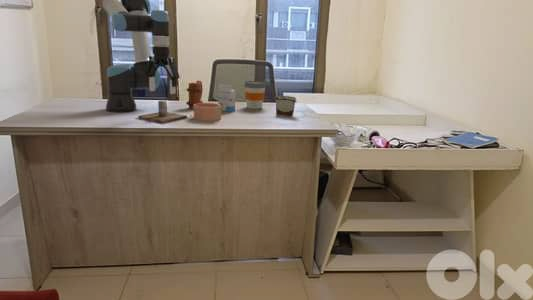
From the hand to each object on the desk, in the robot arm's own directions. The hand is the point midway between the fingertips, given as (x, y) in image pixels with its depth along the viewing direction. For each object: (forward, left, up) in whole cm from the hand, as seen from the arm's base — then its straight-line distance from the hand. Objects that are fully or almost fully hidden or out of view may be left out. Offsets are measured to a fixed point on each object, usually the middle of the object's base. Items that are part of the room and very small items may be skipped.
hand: (162, 92), depth 182 cm
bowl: (+15, +15, -13) cm, 25 cm away
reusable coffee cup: (+14, +59, -13) cm, 62 cm away
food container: (+39, +53, -13) cm, 67 cm away
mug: (-9, +34, -13) cm, 38 cm away
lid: (0, 0, -13) cm, 13 cm away
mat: (0, 0, -13) cm, 13 cm away
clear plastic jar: (+8, +40, -13) cm, 43 cm away
